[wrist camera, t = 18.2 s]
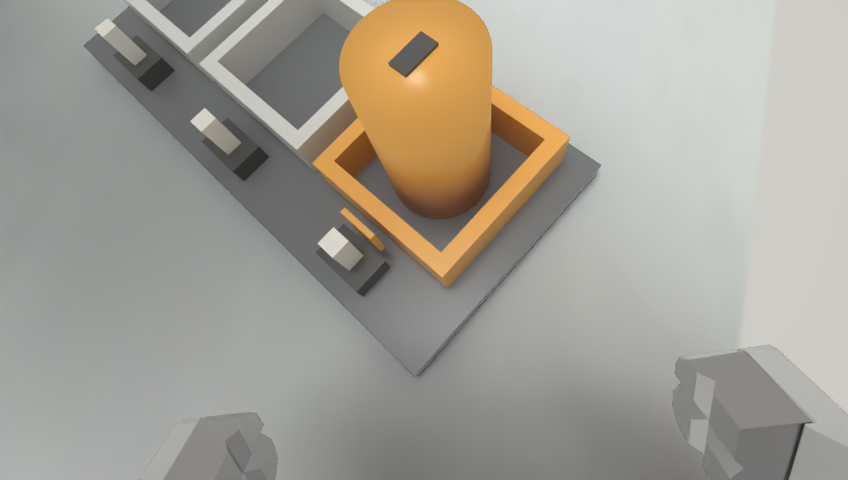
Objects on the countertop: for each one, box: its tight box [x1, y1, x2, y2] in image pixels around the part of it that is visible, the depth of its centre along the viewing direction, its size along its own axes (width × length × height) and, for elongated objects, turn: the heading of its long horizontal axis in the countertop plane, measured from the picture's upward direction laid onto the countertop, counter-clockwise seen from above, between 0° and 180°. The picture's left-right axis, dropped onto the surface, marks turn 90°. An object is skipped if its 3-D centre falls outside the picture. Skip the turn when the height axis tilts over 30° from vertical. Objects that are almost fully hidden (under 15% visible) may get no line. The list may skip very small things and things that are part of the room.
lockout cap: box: [339, 0, 492, 219], centre depth 19 cm, size 5×5×9 cm
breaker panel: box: [84, 0, 601, 376], centre depth 25 cm, size 32×14×5 cm, turn 47°
